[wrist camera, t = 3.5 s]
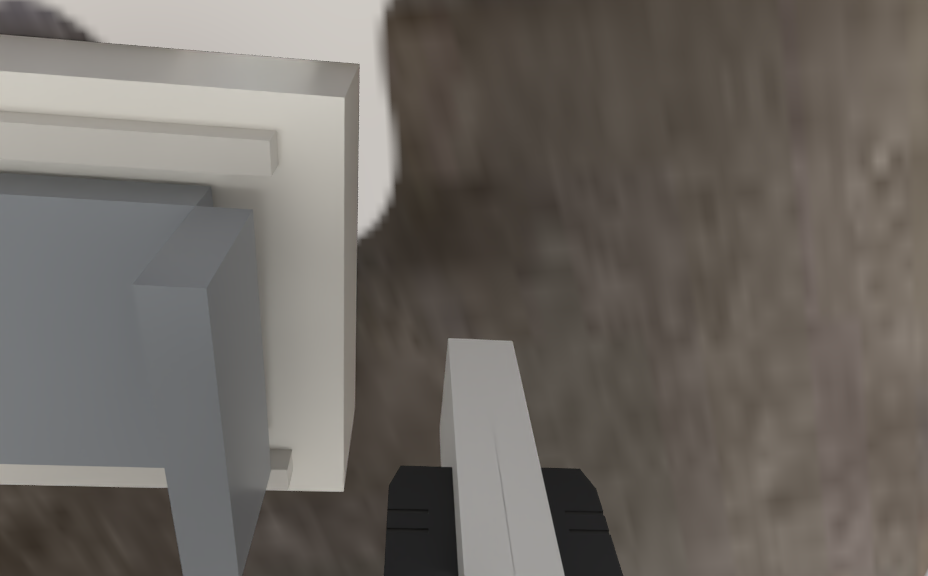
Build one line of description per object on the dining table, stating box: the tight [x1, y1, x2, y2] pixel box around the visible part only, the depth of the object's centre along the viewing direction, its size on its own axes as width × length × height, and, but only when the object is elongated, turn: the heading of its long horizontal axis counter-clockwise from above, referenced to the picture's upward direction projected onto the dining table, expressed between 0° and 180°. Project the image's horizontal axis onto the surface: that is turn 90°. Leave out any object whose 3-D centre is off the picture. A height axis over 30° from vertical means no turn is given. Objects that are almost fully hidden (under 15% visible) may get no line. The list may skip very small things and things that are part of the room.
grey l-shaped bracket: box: [0, 173, 271, 576], centre depth 15 cm, size 7×8×5 cm
